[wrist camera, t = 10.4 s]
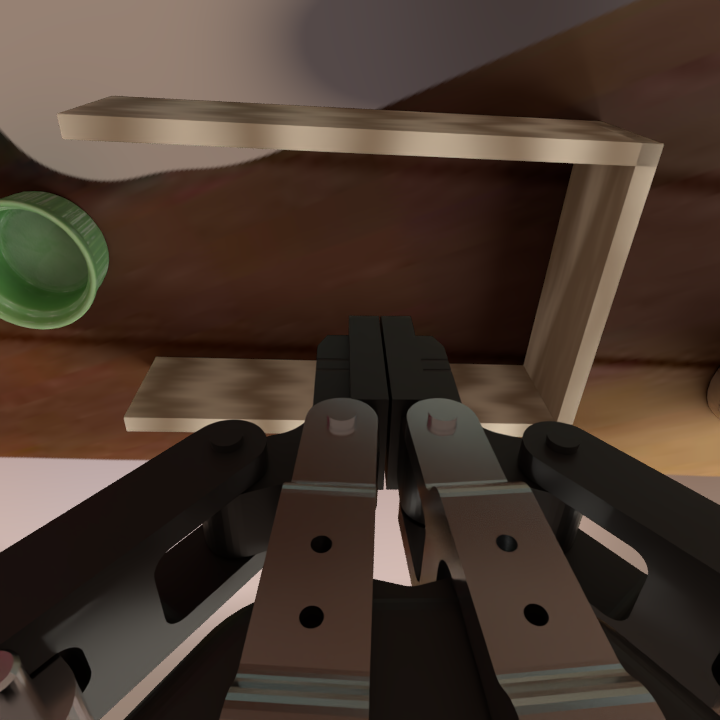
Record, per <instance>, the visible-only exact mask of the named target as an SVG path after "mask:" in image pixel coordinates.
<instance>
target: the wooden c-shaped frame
mask: <svg viewBox="0 0 720 720" xmlns="http://www.w3.org/2000/svg"><path fill="white" fill-rule="evenodd" d="M57 118H58V122H59V127H60V131H61V136H62V139H70V140H89V141H111V142H132V143H154V144H175V145H196V146H197V145H198V146H218V147H239V148H260V149H281V150H302V151H323V152H345V153H366V154H387V155H409V156H430V157H451V158H472V159H494V160H515V161H536V162H558V163H574V164H573V168H572V172H571V176H570V180H569V184H568V188H567V192H566V196H565V200H564V204H563V208H562V212H561V216H560V220H559V224H558V228H557V232H556V236H555V240H554V244H553V248H552V252H551V256H550V260H549V264H548V268H547V272H546V276H545V280H544V285H543V289H542V293H541V297H540V301H539V305H538V309H537V313H536V317H535V321H534V325H533V329H532V333H531V337H530V341H529V345H528V349H527V353H526V357H525V361H524V365H490V364H450V367H451V372H452V374H453V377H454V380H455V383H456V386H457V389H458V393H459V396H460V399H461V402H462V404H464V405H465V406H467V407H469V408H470V409H471V410H472V411H473V412H474V413H475V414H476V416H477V417H478V419H479V422H480V424H481V426H482V427H483V428H485V429H487V430H490V431H493V432H496V433H500V434H504V435H509V436H514V437H523V433H524V431H525V430H526V428H528V427H529V426H530V425H532V424H534V423H538V422H543V421H556V422H562V423H566V424H570V425H572V424H573V421H574V418H575V415H576V412H577V409H578V406H579V403H580V400H581V397H582V394H583V391H584V388H585V385H586V382H587V378H588V375H589V372H590V369H591V366H592V363H593V360H594V357H595V354H596V351H597V348H598V345H599V342H600V339H601V336H602V333H603V330H604V326H605V323H606V320H607V317H608V314H609V311H610V308H611V305H612V302H613V299H614V296H615V293H616V290H617V287H618V284H619V281H620V278H621V274H622V271H623V268H624V265H625V262H626V259H627V256H628V253H629V250H630V247H631V244H632V241H633V238H634V235H635V232H636V229H637V226H638V222H639V219H640V216H641V213H642V210H643V207H644V204H645V201H646V198H647V195H648V192H649V189H650V186H651V183H652V180H653V177H654V174H655V171H656V167H657V164H658V161H659V158H660V155H661V152H662V149H663V146H664V144H663V143H660V142H657V141H654V140H652V139H649V138H646V137H643V136H641V135H638V134H635V133H632V132H630V131H627V130H624V129H621V128H619V127H616V126H613V125H610V124H608V123H605V122H602V121H585V120H566V119H547V118H528V117H509V116H489V115H470V114H451V113H432V112H413V111H393V110H374V109H355V108H335V107H317V106H296V105H277V104H258V103H240V102H220V101H200V100H181V99H163V98H144V97H124V96H110V97H107V98H104V99H101V100H98V101H95V102H91V103H88V104H85V105H83V106H79V107H76V108H73V109H70V110H67V111H64V112H61V113H58V114H57ZM315 373H316V360H273V359H229V358H186V357H156V358H155V360H154V362H153V364H152V365H151V367H150V369H149V371H148V373H147V375H146V377H145V379H144V380H143V382H142V384H141V386H140V388H139V390H138V392H137V394H136V395H135V397H134V399H133V401H132V403H131V405H130V407H129V409H128V410H127V412H126V414H125V416H124V421H125V425H126V430H127V431H156V432H196V431H198V430H200V429H201V428H203V427H205V426H207V425H209V424H212V423H215V422H218V421H223V420H232V419H234V420H245V421H248V422H252V423H254V424H256V425H257V426H259V427H260V428H261V429H262V430H263V431H264V433H285V432H288V431H290V430H293V429H295V428H297V427H299V426H300V425H302V424H303V423H304V422H305V418H306V415H307V413H308V411H309V410H310V409H311V408H312V407H313V397H314V385H315Z"/></svg>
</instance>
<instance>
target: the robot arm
mask: <svg viewBox="0 0 720 720" xmlns="http://www.w3.org/2000/svg"><path fill="white" fill-rule="evenodd" d="M707 400H708V405H709V407H710V409H711V411H712V412H713V413H714V414H715V415H716V416H717V417H718V418H719V419H720V368H719V369H718V370H717V371H716V373H715V375H714V376H713V378H712V380H711V382H710V385H709V388H708V393H707ZM384 471H385V478H386V489H398V490H399V498H400V502H399V514H398V522H399V526H400V531H401V536H402V540H403V546H404V550H405V555H406V560H407V565H408V570H409V574H410V578H411V584H412V586H403V585H399V584H394V583H389V582H385V581H380V580H375V579H373V564H374V562H373V561H374V534H375V533H374V532H375V531H374V530H375V510H376V506H377V492H378V490H383V486H384ZM582 515H584V516H586V517H587V518H589V519H590V520H592V521H593V522H595V523H596V524H598V525H599V526H601V527H602V528H604V529H605V530H607V531H608V532H610V533H611V534H613V535H614V536H616V537H617V538H619V539H620V540H622V541H623V542H625V543H626V544H628V545H630V546H631V547H632V548H634V549H635V550H636V551H637V552H638V553H639V554H640V555H641V556H642V557H643V559H644V560H645V562H646V564H647V567H648V575H647V574H645V573H643V572H641V571H640V570H639V569H637V568H635V567H634V566H633V565H631V564H630V563H628V562H627V561H625V560H624V559H622V558H621V557H620V556H618V555H617V554H615V553H614V552H612V551H611V550H609V549H608V548H606V547H605V546H603V545H602V544H601V543H599V542H598V541H596V540H595V539H593V538H592V537H590V536H589V535H587V534H586V533H584V532H583V531H581V530H580V529H579V528H578V527H579V524H580V521H581V518H582ZM201 524H202V525H201ZM200 525H201V526H200ZM199 526H200V527H199ZM197 527H199V528H197ZM196 528H197V529H196ZM195 529H196V530H195ZM193 530H195V531H193ZM192 531H193V532H192ZM191 532H192V533H191ZM189 533H191V534H190V535H188V534H189ZM187 535H188V536H187ZM185 536H187V537H186V538H184V537H185ZM183 538H184V539H183ZM182 539H183V540H182ZM180 540H182V541H180ZM179 541H180V542H179ZM178 542H179V543H178ZM176 543H178V544H177V545H175V544H176ZM174 545H175V546H174ZM173 546H174V547H173ZM171 547H173V548H171ZM170 548H171V549H170ZM169 549H170V550H169ZM168 550H169V551H168ZM262 568H263V569H262ZM261 569H262V573H261V577H260V582H259V586H258V590H257V594H256V599H255V602H254V603H252V604H250V605H248V606H246V607H244V608H242V609H240V610H239V611H237V612H235V613H234V614H233V615H231V616H229V617H228V618H226V619H225V620H224V621H223V622H221V623H220V624H219V625H218V626H216V627H215V628H214V629H213V630H212V631H211V632H210V633H209V634H208V635H207V636H206V637H205V638H204V639H203V640H202V641H201V642H200V643H199V644H198V645H197V646H196V647H195V648H194V649H193V650H192V651H191V652H190V653H189V654H188V655H187V656H186V657H185V658H184V659H183V660H182V661H181V662H180V663H179V664H178V665H177V666H176V667H175V668H174V669H173V670H172V671H171V672H170V673H169V674H168V675H167V676H166V677H165V678H164V679H163V680H162V681H161V682H160V683H159V684H158V685H157V686H156V687H155V688H154V689H153V690H152V691H151V692H150V693H149V694H148V695H147V696H146V697H145V698H144V700H142V701H141V702H140V703H139V704H138V706H136V708H135V709H134V710H133V711H132V712H131V713H130V714H129V715H128V716H127V717H126V718H125V719H124V720H720V505H718V504H717V503H715V502H713V501H711V500H709V499H708V498H705V497H704V496H702V495H700V494H698V493H697V492H695V491H693V490H691V489H689V488H688V487H686V486H684V485H682V484H680V483H678V482H677V481H675V480H673V479H671V478H669V477H668V476H666V475H664V474H662V473H660V472H658V471H657V470H655V469H653V468H651V467H649V466H647V465H646V464H644V463H642V462H640V461H638V460H637V459H635V458H633V457H631V456H629V455H627V454H626V453H624V452H622V451H620V450H618V449H617V448H615V447H613V446H611V445H609V444H607V443H606V442H604V441H602V440H600V439H598V438H596V437H595V436H593V435H591V434H589V433H587V432H586V431H584V430H582V429H580V428H578V427H575V426H573V425H570V424H566V423H562V422H556V421H543V422H538V423H534V424H532V425H530V426H529V427H528V428H526V430H525V431H524V433H523V437H522V438H518V437H514V436H509V435H504V434H500V433H496V432H493V431H490V430H487V429H485V428H483V427H482V426H481V424H480V422H479V419H478V417H477V416H476V414H475V413H474V412H473V411H472V410H471V409H470V408H469V407H467V406H465V405H464V404H462V402H461V399H460V396H459V393H458V389H457V386H456V383H455V380H454V377H453V374H452V372H451V367H450V364H449V361H448V358H447V355H446V352H445V349H444V346H443V345H441V344H440V343H439V342H438V341H437V340H436V339H435V338H434V337H433V336H415V332H414V328H413V324H412V320H411V316H381V317H380V323H379V316H349V335H327V336H326V337H325V338H324V339H323V341H322V342H321V343H320V344H319V345H318V348H317V361H316V373H315V385H314V397H313V407H312V408H311V409H310V410H309V411H308V413H307V415H306V418H305V422H304V423H303V424H302V425H300V426H299V427H297V428H295V429H293V430H290V431H288V432H285V433H281V434H277V435H272V436H268V437H266V435H265V433H264V431H263V430H262V429H261V428H260V427H259V426H257V425H256V424H254V423H252V422H248V421H245V420H234V419H232V420H223V421H218V422H215V423H212V424H209V425H207V426H205V427H203V428H201V429H200V430H198V431H196V432H195V433H193V434H192V435H190V436H188V437H187V438H185V439H184V440H182V441H180V442H179V443H177V444H175V445H174V446H172V447H171V448H169V449H167V450H166V451H164V452H162V453H161V454H159V455H158V456H156V457H154V458H153V459H151V460H149V461H148V462H146V463H145V464H143V465H141V466H140V467H138V468H137V469H135V470H133V471H132V472H130V473H128V474H127V475H125V476H124V477H122V478H120V479H119V480H117V481H116V482H114V483H112V484H111V485H109V486H108V487H106V488H104V489H102V490H101V491H99V492H98V493H96V494H94V495H93V496H91V497H90V498H88V499H86V500H85V501H83V502H81V503H80V504H78V505H77V506H75V507H73V508H72V509H70V510H68V511H67V512H66V513H64V514H62V515H60V516H59V517H57V518H56V519H54V520H52V521H51V522H49V523H47V524H46V525H44V526H43V527H41V528H39V529H38V530H36V531H34V532H33V533H31V534H30V535H28V536H27V537H25V538H23V539H21V540H20V541H18V542H17V543H15V544H14V545H12V546H10V547H8V548H7V549H5V550H4V551H2V552H0V720H100V719H101V718H102V717H103V716H104V715H105V714H106V713H107V712H108V711H109V710H110V709H111V708H112V707H114V706H115V705H116V704H117V703H118V702H119V701H120V700H121V699H122V698H123V697H124V696H125V695H127V694H128V693H129V692H130V691H131V690H132V689H133V688H134V687H135V686H136V685H137V684H138V683H139V682H141V681H142V680H143V679H144V678H145V677H146V676H147V675H148V674H149V673H150V672H151V671H152V670H153V669H154V668H155V667H157V665H159V664H160V663H161V662H162V661H163V660H164V659H165V658H166V657H167V656H168V655H169V654H170V653H172V652H173V651H174V650H175V649H176V648H177V647H178V646H179V645H180V644H181V643H182V642H183V641H185V640H186V639H187V638H188V637H189V636H190V635H191V634H192V633H193V632H194V631H195V630H196V629H197V628H198V627H200V626H201V625H202V624H203V623H204V622H205V621H206V620H207V619H208V618H209V617H210V616H211V615H212V614H214V613H215V612H216V611H217V610H218V609H219V608H220V607H221V606H222V605H223V604H224V603H225V602H226V601H227V600H229V598H231V597H232V596H233V595H234V594H235V593H236V592H237V591H238V590H239V589H240V588H241V587H243V585H245V584H246V583H247V582H248V581H249V580H250V579H251V578H252V577H253V576H254V575H255V574H256V573H258V572H259V571H260V570H261Z"/></svg>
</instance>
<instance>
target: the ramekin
mask: <svg viewBox="0 0 720 720" xmlns="http://www.w3.org/2000/svg"><path fill="white" fill-rule="evenodd" d="M108 265H109V253H108V248H107V244H106V242H105V239H104V237H103V234H102V232H101V231H100V229H99V228H98V226H97V225H96V223H95V222H94V221H93V220H92V219H91V217H90V216H89V215H88V214H87V213H86V212H85V211H83V210H82V209H81V208H79V207H78V206H77V205H75V204H74V203H72V202H71V201H69V200H67V199H65V198H63V197H61V196H58V195H55V194H51V193H47V192H38V191H30V192H21V193H16V194H13V195H10V196H8V197H5V198H2V199H0V318H1V319H3V320H5V321H7V322H10V323H12V324H15V325H19V326H22V327H27V328H33V329H54V328H59V327H63V326H66V325H69V324H71V323H73V322H75V321H76V320H78V319H79V318H81V317H82V316H83V315H84V314H85V313H86V312H87V311H88V309H89V308H90V306H91V305H92V303H93V301H94V298H95V296H96V292H97V290H98V288H99V286H100V285H101V283H102V282H103V280H104V278H105V276H106V273H107V270H108Z"/></svg>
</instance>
